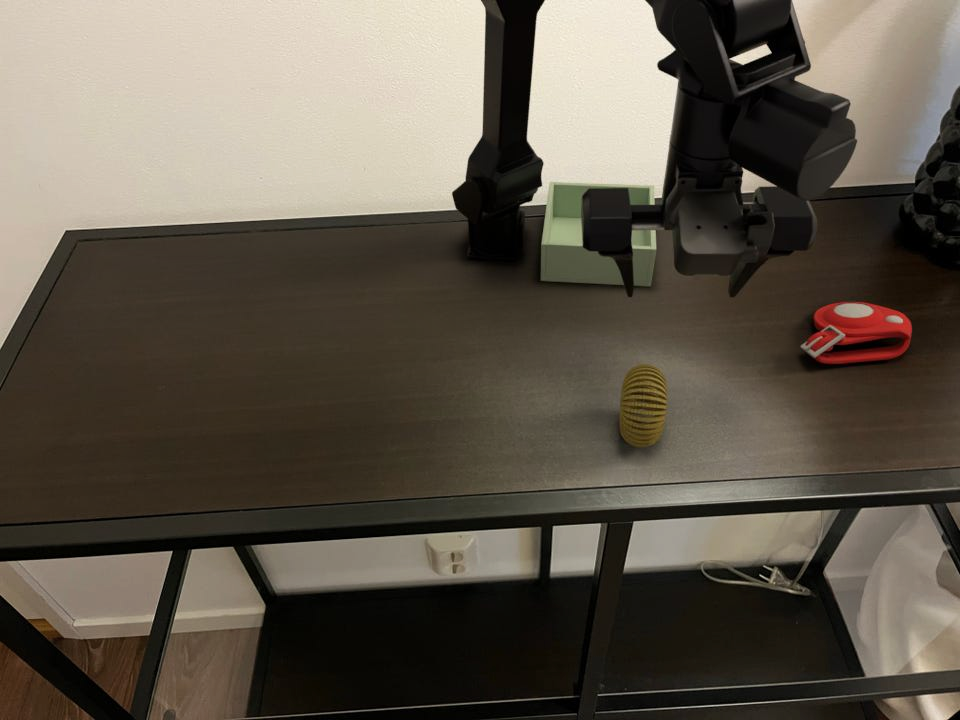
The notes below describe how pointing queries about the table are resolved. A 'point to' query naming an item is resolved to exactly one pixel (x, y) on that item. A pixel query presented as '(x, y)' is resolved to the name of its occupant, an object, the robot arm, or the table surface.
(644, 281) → the bin
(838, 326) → the tracker holder
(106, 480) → the table surface
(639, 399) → the sculpture
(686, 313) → the table surface
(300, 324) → the table surface
